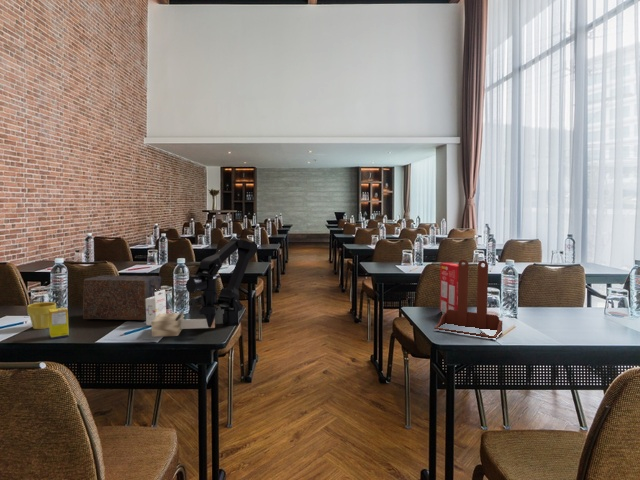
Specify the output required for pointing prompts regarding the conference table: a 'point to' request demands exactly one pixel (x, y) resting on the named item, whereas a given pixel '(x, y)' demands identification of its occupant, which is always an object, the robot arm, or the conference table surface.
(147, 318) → the ink cartridge box
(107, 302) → the decorative box
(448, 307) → the food packaging
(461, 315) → the hanging shelf
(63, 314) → the supplement box
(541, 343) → the conference table surface
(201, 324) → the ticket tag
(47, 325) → the plant pot
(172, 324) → the tan box with rod
